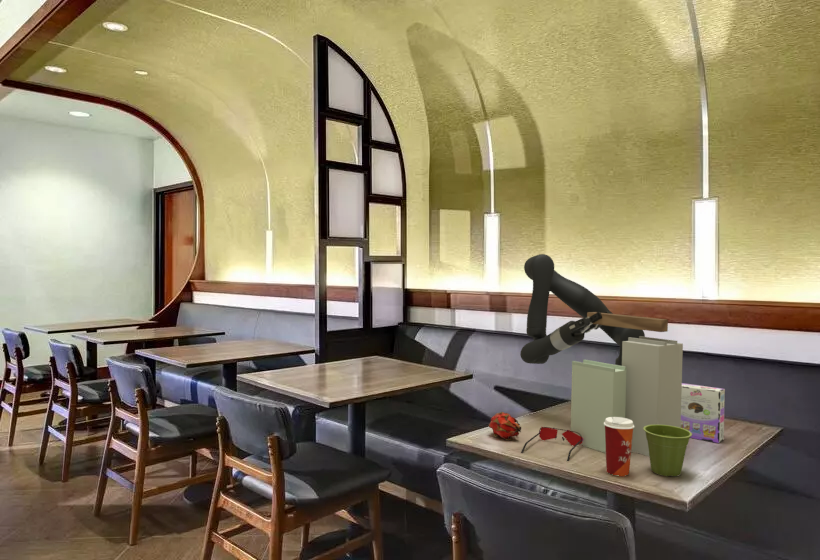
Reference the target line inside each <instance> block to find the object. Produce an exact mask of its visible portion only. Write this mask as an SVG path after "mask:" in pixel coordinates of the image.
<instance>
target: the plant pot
mask: <svg viewBox="0 0 820 560" xmlns="http://www.w3.org/2000/svg"><path fill="white" fill-rule="evenodd" d="M643 429H644V431H645V432H646V438H647V441H648V448H649V456H650V457H649V456H648V457H649V463H650V470H651V471H652V472H653V473H654V474H656V475H659V476H662V475H663V476H662V477H670V476H671V477H674V476H676V477H679V476H680V475H681V473H682V469H683V465H684V460H685V456H686V451H687V446H688V445H689V441H690V439H691V438H690V437H691V436H692V433H691V432H690V431H688V430H686V429H683V428H680V427H675V426H670V425H658V424H656V425H647V426H644V428H643ZM678 475H679V476H678Z"/></svg>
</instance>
